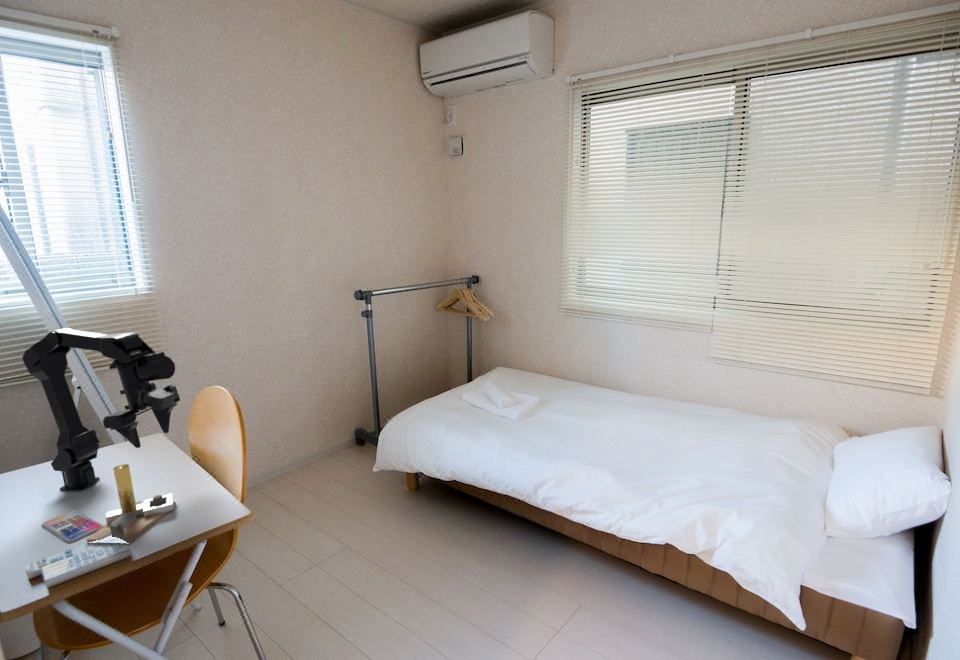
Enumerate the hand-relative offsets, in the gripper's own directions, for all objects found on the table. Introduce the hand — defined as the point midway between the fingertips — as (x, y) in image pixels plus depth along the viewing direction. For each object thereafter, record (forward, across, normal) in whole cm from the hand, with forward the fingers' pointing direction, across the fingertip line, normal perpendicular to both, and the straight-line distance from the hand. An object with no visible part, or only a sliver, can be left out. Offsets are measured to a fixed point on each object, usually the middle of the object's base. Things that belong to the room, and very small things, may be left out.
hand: (152, 440), depth 135 cm
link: (+14, -11, -2) cm, 18 cm away
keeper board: (+15, -14, -3) cm, 21 cm away
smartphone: (+14, -17, +11) cm, 25 cm away
